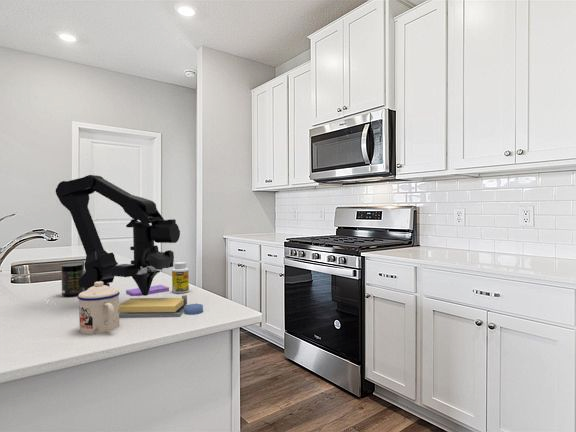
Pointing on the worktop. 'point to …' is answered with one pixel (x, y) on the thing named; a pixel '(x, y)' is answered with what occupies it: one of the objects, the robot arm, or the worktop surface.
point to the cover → (152, 304)
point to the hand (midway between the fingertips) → (145, 295)
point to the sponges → (151, 291)
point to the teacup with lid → (98, 309)
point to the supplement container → (71, 279)
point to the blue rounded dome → (193, 309)
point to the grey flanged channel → (152, 314)
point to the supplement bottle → (180, 278)
